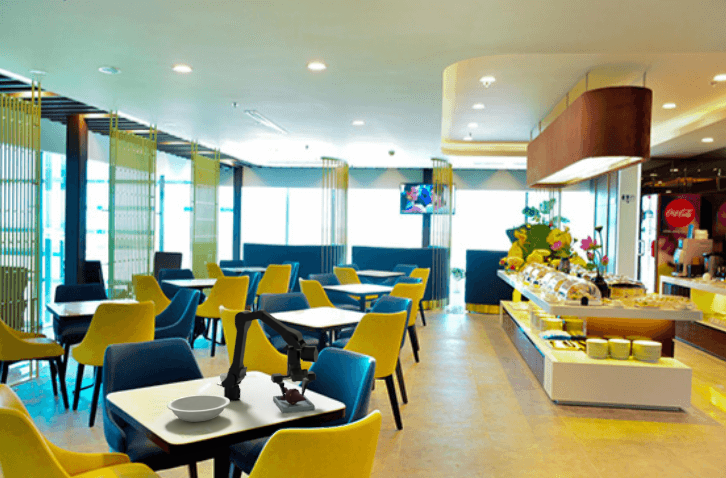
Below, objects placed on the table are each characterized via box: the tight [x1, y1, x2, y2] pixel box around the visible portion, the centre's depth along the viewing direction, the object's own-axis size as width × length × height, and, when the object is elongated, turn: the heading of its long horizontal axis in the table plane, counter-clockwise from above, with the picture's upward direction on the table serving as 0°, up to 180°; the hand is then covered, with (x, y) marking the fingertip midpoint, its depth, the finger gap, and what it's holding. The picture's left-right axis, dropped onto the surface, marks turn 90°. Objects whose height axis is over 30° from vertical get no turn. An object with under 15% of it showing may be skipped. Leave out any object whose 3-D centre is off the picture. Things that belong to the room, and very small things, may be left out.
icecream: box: [280, 386, 306, 405], centre depth 246 cm, size 7×7×15 cm
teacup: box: [216, 372, 228, 386], centre depth 283 cm, size 10×10×5 cm
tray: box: [272, 393, 316, 414], centre depth 247 cm, size 14×20×2 cm
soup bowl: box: [166, 394, 231, 423], centre depth 226 cm, size 24×24×7 cm
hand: (293, 396), depth 247 cm, fingers open, 8 cm apart
